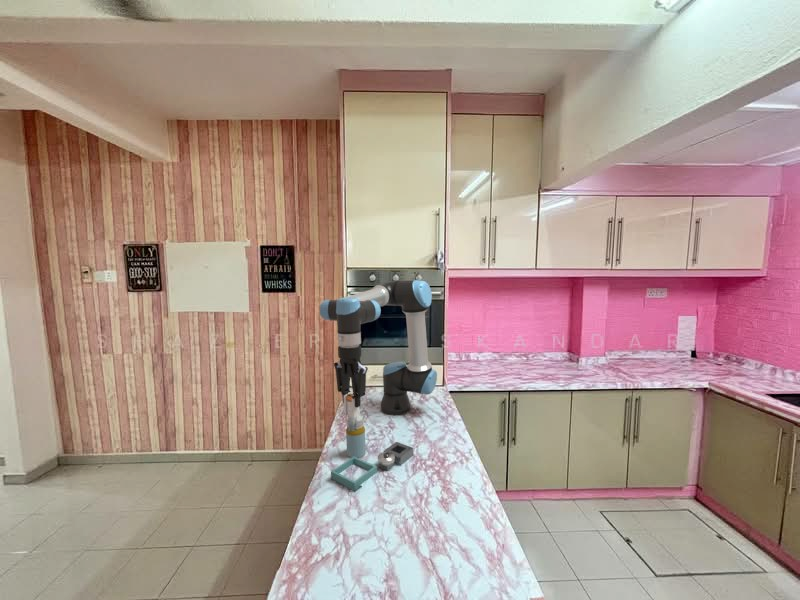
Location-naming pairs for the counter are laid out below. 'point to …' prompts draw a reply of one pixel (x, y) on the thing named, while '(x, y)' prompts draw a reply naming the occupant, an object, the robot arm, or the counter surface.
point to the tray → (348, 482)
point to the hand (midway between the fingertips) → (352, 414)
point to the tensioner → (394, 455)
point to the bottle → (356, 439)
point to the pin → (351, 420)
